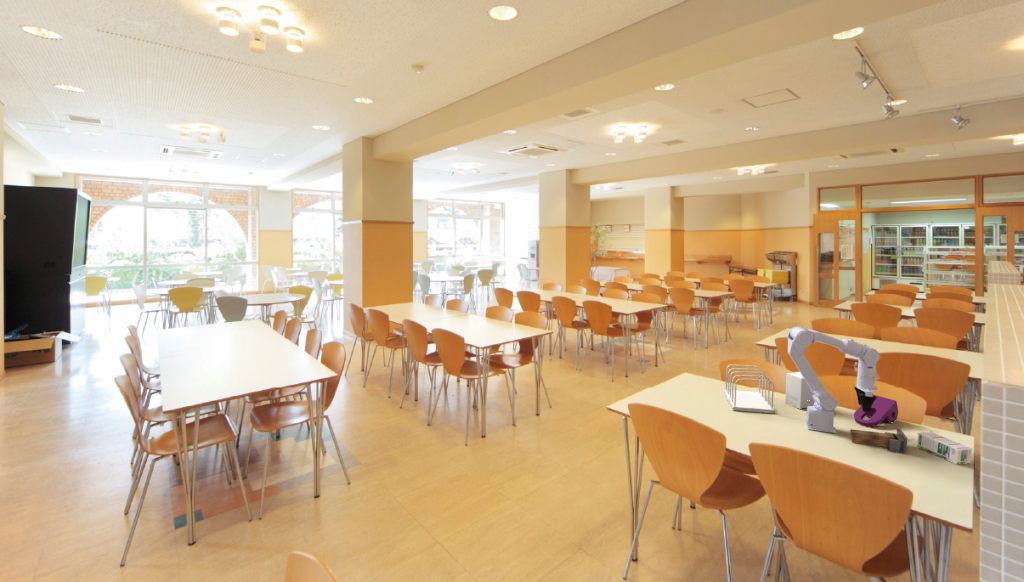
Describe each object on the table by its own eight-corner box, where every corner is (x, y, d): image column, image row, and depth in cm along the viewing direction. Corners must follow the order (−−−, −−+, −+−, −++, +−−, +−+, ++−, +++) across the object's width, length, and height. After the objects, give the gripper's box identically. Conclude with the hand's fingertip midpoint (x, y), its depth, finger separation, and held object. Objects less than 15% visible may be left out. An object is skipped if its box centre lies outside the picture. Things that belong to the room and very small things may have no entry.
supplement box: (815, 407, 218) (817, 376, 216) (800, 409, 216) (801, 378, 214) (799, 401, 227) (801, 371, 225) (784, 403, 224) (785, 372, 223)
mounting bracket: (877, 441, 195) (899, 416, 202) (873, 426, 193) (896, 400, 199) (852, 433, 204) (874, 409, 210) (849, 418, 201) (871, 394, 207)
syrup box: (917, 432, 177) (958, 449, 163) (931, 431, 178) (973, 448, 163) (916, 446, 178) (956, 465, 163) (929, 445, 178) (971, 464, 164)
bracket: (887, 451, 175) (889, 435, 174) (881, 440, 183) (882, 425, 183) (906, 453, 172) (907, 438, 171) (898, 442, 181) (899, 428, 180)
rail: (852, 442, 182) (852, 432, 182) (850, 438, 185) (850, 429, 185) (894, 447, 176) (894, 437, 176) (891, 444, 179) (892, 434, 179)
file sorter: (774, 414, 212) (776, 380, 210) (732, 411, 216) (734, 378, 214) (760, 395, 236) (762, 365, 234) (723, 393, 240) (724, 363, 238)
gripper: (883, 382, 181) (880, 415, 182) (874, 372, 194) (871, 403, 195) (860, 380, 184) (858, 413, 186) (853, 370, 197) (851, 401, 198)
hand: (863, 408), depth 191 cm, fingers open, 7 cm apart
